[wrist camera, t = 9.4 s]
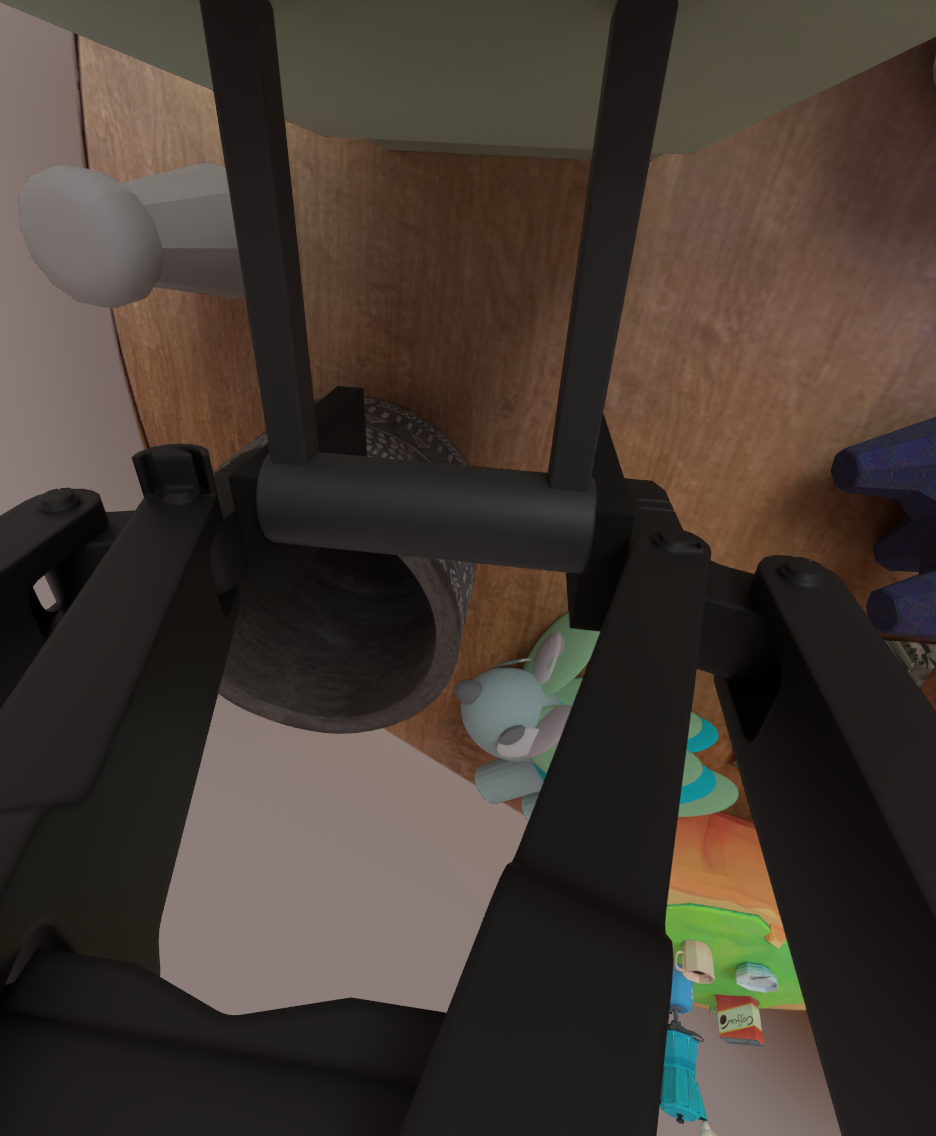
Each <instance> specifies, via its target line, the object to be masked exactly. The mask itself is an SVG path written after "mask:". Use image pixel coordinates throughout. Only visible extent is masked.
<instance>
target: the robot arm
mask: <svg viewBox="0 0 936 1136" xmlns="http://www.w3.org/2000/svg"><path fill="white" fill-rule="evenodd" d="M314 408H315V417H316V427H317V437H318V446H319V452H321V453H332V454H343V455H354V456H365V457H367V442H366V424H365V407H364V389H363V388H355V387H343V386H337V387H336V388H335V389H334V390H332V391H331V392H330V393H329V394H328V395H326V396H325V397H324V398H323V399H321V400H320V401H319V402H318V403H317V404H315V405H314ZM269 454H270V452H269V445H268V444H266V445H265V446H264V447H256V448H254V449H251V450H249V451H246V452H243V453H241V454H239V455H238V456H237V457H235V458H234V459H233V460H231V461H230V462H229V464H226V465H225V466H224V467H222V468H221V469H220V471H217V472H216V473H215V474H213V470H212V466H211V462H210V457H209V453H208V450H207V449H205V448H204V447H202V446H198V445H193V444H168V445H161V446H156V447H151V448H148V449H146V450H143V451H140V452H138V453H137V454H135V455H134V456H133V457H132V460H133V463H134V466H135V469H136V473H137V476H138V479H139V482H140V486H141V489H142V492H143V495H144V499H143V500H142V502H141V503H140V505H139V506H138V507H137V509H136V510H135V511H119V512H105V509H104V506H103V503H102V501H101V498H100V495H99V494H98V493H96V492H94V491H92V490H86V489H71V488H61V489H60V490H59V489H54V490H50V491H48V492H46V493H44V494H41V495H38V496H35V497H33V498H31V499H29V500H26V501H24V502H23V503H21V504H19V505H17V506H16V507H14V508H13V509H11V510H9V511H7V512H6V513H4V514H2V515H1V516H0V1136H656V1134H657V1125H658V1115H659V1106H660V1096H661V1087H662V1077H663V1068H664V1058H665V1049H666V1039H667V1030H668V1020H669V1011H670V1001H671V992H672V978H673V962H674V957H673V944H672V940H671V939H670V938H669V936H668V935H667V934H666V927H665V921H666V909H667V901H668V893H669V885H670V877H671V869H672V861H673V853H674V845H675V837H676V829H677V821H678V813H679V805H680V798H681V790H682V782H683V774H684V766H685V758H686V750H687V742H688V734H689V726H690V718H691V710H692V702H693V694H694V686H695V678H696V670H697V669H700V670H703V671H706V672H709V673H712V674H714V683H715V687H716V690H717V694H718V697H719V701H720V705H721V708H722V712H723V715H724V719H725V722H726V726H727V729H728V733H729V737H730V740H731V744H732V747H733V751H734V754H735V758H736V761H737V765H738V769H739V772H740V776H741V779H742V783H743V786H744V790H745V793H746V797H747V801H748V804H749V808H750V811H751V815H752V818H753V822H754V825H755V829H756V833H757V836H758V840H759V843H760V847H761V850H762V854H763V857H764V861H765V865H766V868H767V872H768V875H769V879H770V882H771V886H772V889H773V893H774V897H775V900H776V904H777V907H778V911H779V914H780V918H781V921H782V925H783V929H784V932H785V936H786V939H787V943H788V946H789V950H790V953H791V957H792V960H793V964H794V968H795V971H796V975H797V978H798V982H799V985H800V989H801V992H802V996H803V1000H804V1003H805V1007H806V1010H807V1014H808V1017H809V1021H810V1024H811V1028H812V1032H813V1035H814V1038H815V1042H816V1046H817V1049H818V1053H819V1056H820V1060H821V1064H822V1067H823V1071H824V1074H825V1078H826V1081H827V1085H828V1088H829V1092H830V1095H831V1099H832V1103H833V1106H834V1110H835V1113H836V1117H837V1120H838V1124H839V1128H840V1131H841V1135H842V1136H936V711H935V709H934V708H933V707H932V705H931V704H930V702H929V701H928V700H927V698H926V697H925V695H924V694H923V693H922V691H921V690H920V688H919V687H918V686H917V684H916V683H915V682H914V680H913V679H912V677H911V676H910V675H909V673H908V672H907V670H906V669H905V668H904V666H903V665H902V663H901V662H900V661H899V659H898V658H897V656H896V655H895V654H894V652H893V651H892V649H891V648H890V647H889V645H888V644H887V643H886V641H885V640H884V638H883V637H882V636H881V634H880V633H879V631H878V630H877V629H876V627H875V626H874V624H873V623H872V622H871V620H870V619H869V617H868V616H867V615H866V613H865V612H864V611H863V609H862V608H861V606H860V605H859V604H858V602H857V601H856V599H855V598H854V597H853V595H852V594H851V592H850V591H849V590H848V588H847V587H846V585H845V584H844V583H843V581H842V580H841V579H840V578H839V577H838V576H836V575H835V574H834V573H833V572H832V571H830V570H828V569H826V568H825V567H823V566H822V565H821V564H819V563H817V562H815V561H810V560H809V559H806V558H803V557H798V558H797V557H792V556H782V555H774V556H769V557H765V558H764V559H763V560H762V561H760V562H759V564H758V567H757V569H756V572H755V574H752V573H748V572H744V571H741V570H737V569H733V568H729V567H726V566H723V565H720V564H717V563H715V562H713V561H711V560H710V559H711V550H710V547H709V545H708V544H707V543H706V542H705V541H704V540H703V539H701V538H700V537H698V536H696V535H694V534H692V533H690V532H687V531H684V530H683V529H682V527H681V524H680V522H679V520H678V518H677V516H676V513H675V512H674V509H673V507H672V505H671V503H670V500H669V498H668V496H667V494H666V492H665V490H663V489H662V488H661V487H660V486H658V485H657V484H656V483H654V482H653V481H648V480H637V479H626V478H624V476H623V473H622V470H621V467H620V464H619V461H618V457H617V454H616V451H615V448H614V445H613V442H612V439H611V436H610V433H609V429H608V426H607V423H606V420H605V417H604V414H603V416H602V421H601V426H600V432H599V437H598V443H597V448H596V453H595V459H594V464H593V470H592V475H591V478H593V479H594V480H595V484H596V491H597V507H596V520H595V529H594V537H593V543H592V548H591V553H590V557H589V560H588V563H587V566H586V568H585V570H584V572H583V573H579V574H577V573H568V572H566V581H567V596H568V610H569V624H570V628H571V629H580V630H589V631H598V632H600V634H599V636H598V639H597V642H596V644H595V647H594V650H593V652H592V655H591V658H590V660H589V663H588V665H587V668H586V671H585V673H584V676H583V679H582V681H581V684H580V687H579V689H578V692H577V694H576V697H575V700H574V702H573V705H572V708H571V710H570V713H569V716H568V718H567V721H566V724H565V726H564V729H563V731H562V734H561V737H560V739H559V742H558V745H557V747H556V750H555V753H554V755H553V758H552V761H551V763H550V766H549V768H548V771H547V774H546V776H545V779H544V782H543V784H542V787H541V790H540V792H539V795H538V798H537V800H536V803H535V805H534V808H533V811H532V813H531V816H530V819H529V821H528V824H527V827H526V829H525V832H524V834H523V837H522V840H521V842H520V845H519V848H518V850H517V852H516V855H515V857H514V859H513V861H512V862H511V863H509V864H507V865H506V867H505V869H504V871H503V873H502V875H501V877H500V879H499V881H498V884H497V886H496V889H495V891H494V893H493V896H492V898H491V900H490V903H489V906H488V908H487V911H486V913H485V916H484V918H483V921H482V923H481V926H480V929H479V931H478V934H477V936H476V939H475V941H474V944H473V947H472V949H471V952H470V954H469V957H468V960H467V962H466V964H465V967H464V970H463V972H462V975H461V977H460V980H459V983H458V985H457V988H456V990H455V993H454V995H453V998H452V1000H451V1003H450V1005H449V1008H448V1011H447V1013H444V1012H438V1011H432V1010H425V1009H420V1008H413V1007H407V1006H400V1005H395V1004H388V1003H382V1002H376V1001H370V1000H363V999H357V998H345V999H339V1000H332V1001H326V1002H320V1003H313V1004H307V1005H300V1006H294V1007H288V1008H281V1009H275V1010H269V1011H262V1012H256V1013H250V1014H243V1015H227V1014H223V1013H221V1012H219V1011H217V1010H215V1009H213V1008H212V1007H210V1006H209V1005H207V1004H205V1003H203V1002H202V1001H200V1000H198V999H197V998H195V997H193V996H191V995H190V994H188V993H186V992H185V991H183V990H181V989H179V988H178V987H176V986H174V985H172V984H171V983H169V982H168V981H166V980H164V979H163V978H161V977H160V958H159V942H158V941H159V928H160V923H161V917H162V913H163V909H164V905H165V901H166V897H167V893H168V889H169V885H170V882H171V877H172V874H173V869H174V866H175V861H176V858H177V854H178V850H179V846H180V842H181V838H182V834H183V830H184V826H185V822H186V818H187V814H188V810H189V806H190V802H191V799H192V794H193V790H194V787H195V783H196V778H197V775H198V771H199V767H200V763H201V759H202V755H203V751H204V747H205V743H206V739H207V735H208V731H209V727H210V723H211V719H212V716H213V711H214V708H215V704H216V700H217V696H218V692H219V688H220V684H221V680H222V676H223V672H224V668H225V664H226V660H227V656H228V652H229V648H230V644H231V641H232V637H233V633H234V629H235V625H236V621H237V617H238V613H239V609H240V605H241V595H240V591H239V586H238V582H239V581H240V580H241V579H242V577H243V576H244V575H245V574H246V573H247V571H248V574H249V579H250V584H251V589H252V594H260V595H269V596H278V597H287V596H288V595H289V593H290V592H291V590H292V589H293V587H294V586H295V584H296V583H297V581H298V580H299V578H300V577H301V575H302V574H303V572H304V571H305V569H306V568H307V566H308V565H309V564H310V562H311V561H312V559H313V558H314V556H315V555H316V553H317V552H318V550H319V549H320V547H314V546H304V545H295V544H285V543H276V542H272V541H270V540H269V539H267V538H266V537H265V535H264V534H263V532H262V530H261V528H260V525H259V522H258V518H257V511H256V488H257V481H258V477H259V473H260V470H261V467H262V465H263V462H264V461H265V459H266V457H267V456H268V455H269ZM42 576H45V578H46V580H47V582H48V584H49V586H50V589H51V591H52V593H53V595H54V597H55V599H56V603H55V604H54V605H53V606H51V607H50V608H49V609H47V610H45V609H44V608H43V606H42V605H41V603H40V601H39V599H38V597H37V595H36V593H35V591H34V589H33V586H34V585H35V583H36V582H37V581H38V580H39V579H40V578H41V577H42Z"/></svg>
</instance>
